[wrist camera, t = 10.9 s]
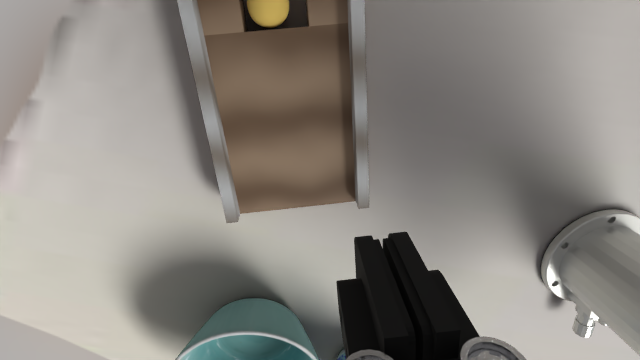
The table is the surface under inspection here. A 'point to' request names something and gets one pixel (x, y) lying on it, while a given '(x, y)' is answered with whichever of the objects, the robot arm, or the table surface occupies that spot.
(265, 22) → the ball
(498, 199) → the table surface
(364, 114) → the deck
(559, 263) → the robot arm
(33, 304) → the table surface
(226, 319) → the bowl
